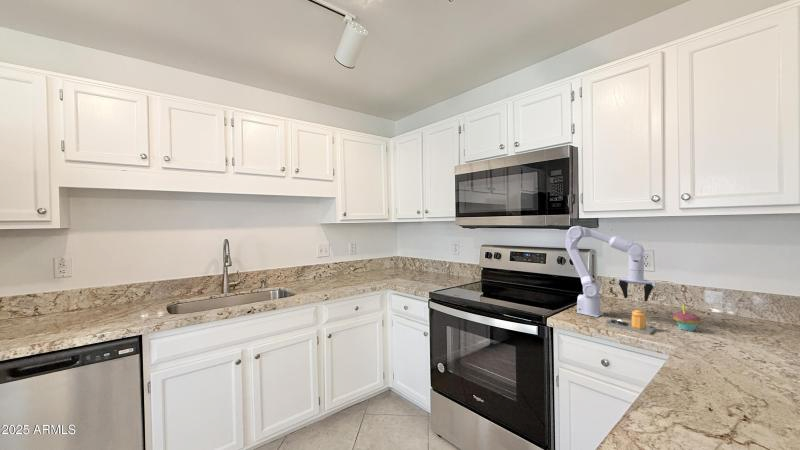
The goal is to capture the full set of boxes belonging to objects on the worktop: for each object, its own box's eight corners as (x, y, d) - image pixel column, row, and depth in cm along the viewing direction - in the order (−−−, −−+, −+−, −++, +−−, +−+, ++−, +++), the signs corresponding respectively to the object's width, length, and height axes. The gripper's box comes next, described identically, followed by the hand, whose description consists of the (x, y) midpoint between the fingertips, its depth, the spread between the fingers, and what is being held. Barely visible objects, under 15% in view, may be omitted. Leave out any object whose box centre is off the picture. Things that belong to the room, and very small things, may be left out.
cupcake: (690, 333, 129) (690, 304, 129) (667, 327, 137) (668, 299, 137) (705, 331, 131) (705, 302, 131) (682, 325, 140) (682, 297, 139)
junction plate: (605, 324, 141) (605, 315, 141) (612, 320, 147) (612, 311, 147) (650, 334, 129) (650, 324, 129) (656, 329, 134) (656, 320, 134)
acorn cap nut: (630, 326, 136) (630, 310, 136) (634, 323, 139) (634, 308, 139) (643, 328, 132) (643, 313, 132) (647, 326, 135) (647, 311, 135)
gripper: (658, 270, 142) (658, 300, 142) (620, 267, 153) (620, 295, 154) (653, 272, 138) (653, 303, 138) (615, 268, 149) (615, 297, 149)
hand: (635, 299), depth 145 cm, fingers open, 7 cm apart
